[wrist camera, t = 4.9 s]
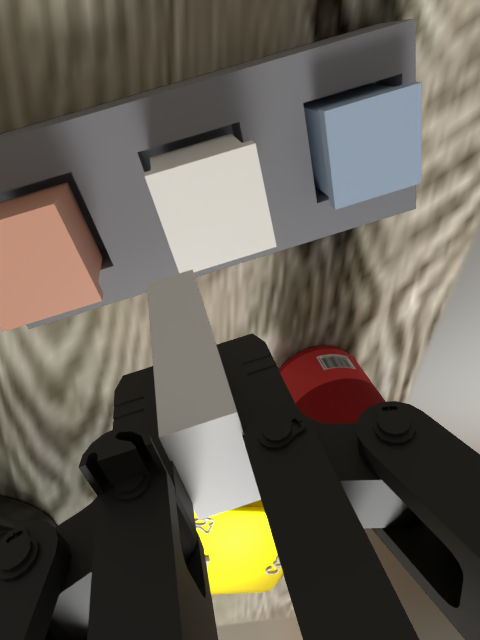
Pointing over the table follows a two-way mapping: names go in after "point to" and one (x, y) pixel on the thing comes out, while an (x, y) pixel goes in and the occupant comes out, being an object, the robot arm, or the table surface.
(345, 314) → the table surface
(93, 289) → the terracotta key
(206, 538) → the element tile
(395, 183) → the slate blue key
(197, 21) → the table surface
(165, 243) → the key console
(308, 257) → the table surface
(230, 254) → the white key
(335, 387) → the canned food
